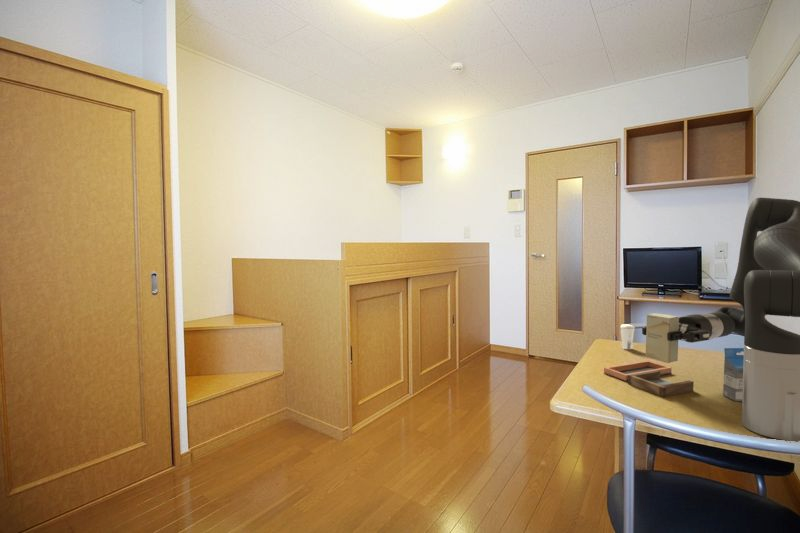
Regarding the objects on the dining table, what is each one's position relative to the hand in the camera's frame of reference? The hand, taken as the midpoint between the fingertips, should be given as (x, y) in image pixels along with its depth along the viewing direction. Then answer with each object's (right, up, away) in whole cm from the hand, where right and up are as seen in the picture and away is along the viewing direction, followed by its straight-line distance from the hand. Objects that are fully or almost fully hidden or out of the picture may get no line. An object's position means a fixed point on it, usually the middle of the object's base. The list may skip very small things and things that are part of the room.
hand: (655, 333), depth 101 cm
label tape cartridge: (+18, -15, -7) cm, 24 cm away
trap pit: (+3, -14, +12) cm, 19 cm away
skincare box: (+3, -7, +1) cm, 8 cm away
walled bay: (+2, -15, +1) cm, 15 cm away
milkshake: (+16, -13, +39) cm, 44 cm away
